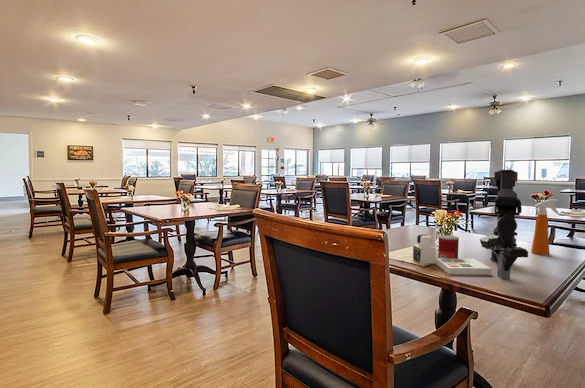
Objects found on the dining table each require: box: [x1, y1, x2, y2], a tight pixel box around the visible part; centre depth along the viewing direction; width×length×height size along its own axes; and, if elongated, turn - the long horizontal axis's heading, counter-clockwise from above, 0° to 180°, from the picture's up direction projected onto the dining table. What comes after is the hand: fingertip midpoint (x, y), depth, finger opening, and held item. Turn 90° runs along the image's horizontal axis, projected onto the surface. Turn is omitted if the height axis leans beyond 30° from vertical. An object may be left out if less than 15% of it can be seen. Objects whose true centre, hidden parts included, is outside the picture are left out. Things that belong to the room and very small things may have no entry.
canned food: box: [437, 234, 460, 259], centre depth 150 cm, size 8×8×11 cm
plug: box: [496, 251, 511, 280], centre depth 127 cm, size 3×3×10 cm
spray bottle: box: [531, 198, 561, 256], centre depth 161 cm, size 7×11×26 cm, turn 72°
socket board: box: [435, 257, 492, 276], centre depth 138 cm, size 16×14×3 cm
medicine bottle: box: [412, 233, 437, 265], centre depth 148 cm, size 7×7×12 cm
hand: (503, 269), depth 127 cm, fingers closed on plug, 3 cm apart
